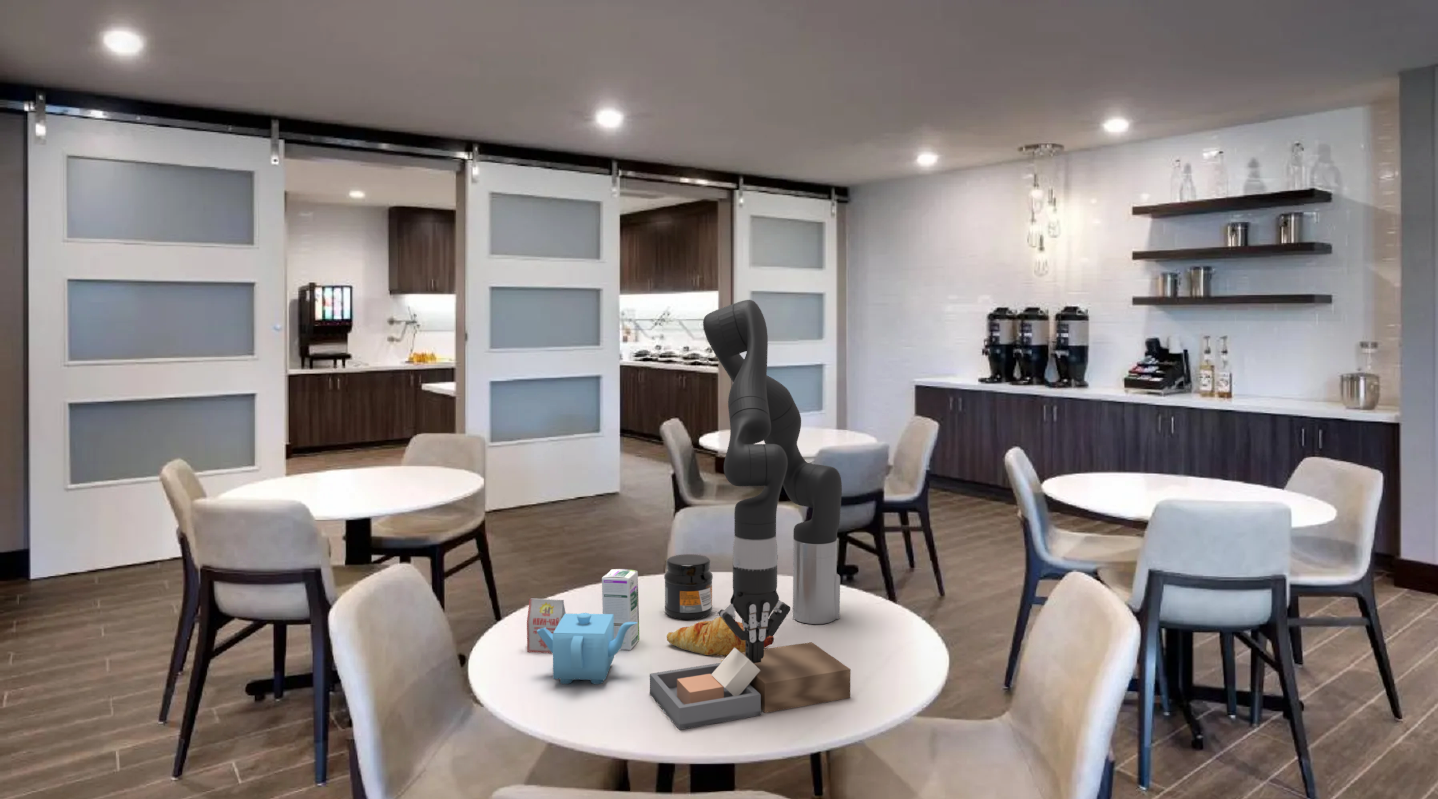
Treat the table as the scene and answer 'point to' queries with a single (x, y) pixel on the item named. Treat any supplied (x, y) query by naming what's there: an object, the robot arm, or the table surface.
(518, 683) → the table surface
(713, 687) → the terracotta tile
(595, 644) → the teapot
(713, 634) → the croissant
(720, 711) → the box
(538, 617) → the tea bag
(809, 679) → the wood grain slab
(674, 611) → the supplement container
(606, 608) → the syrup box
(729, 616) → the robot arm
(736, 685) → the cream tile
